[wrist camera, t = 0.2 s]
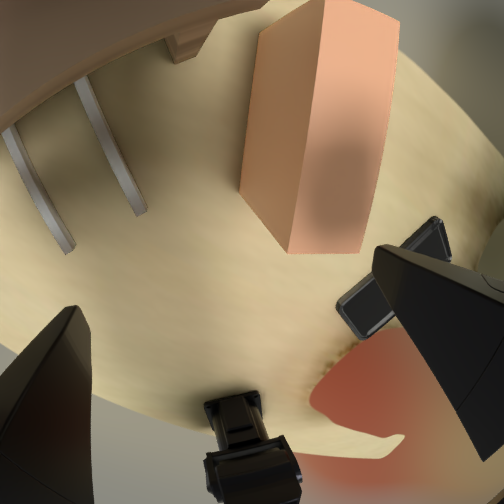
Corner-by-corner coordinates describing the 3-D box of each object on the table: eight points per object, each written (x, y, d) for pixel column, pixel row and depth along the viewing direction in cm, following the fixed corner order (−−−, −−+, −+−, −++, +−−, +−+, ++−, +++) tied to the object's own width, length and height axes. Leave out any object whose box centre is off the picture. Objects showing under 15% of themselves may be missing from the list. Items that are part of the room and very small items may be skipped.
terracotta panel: (289, 195, 24) (359, 253, 15) (238, 192, 23) (287, 254, 14) (311, 44, 19) (399, 21, 10) (259, 33, 18) (326, -9, 9)
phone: (453, 260, 32) (362, 343, 33) (447, 256, 33) (357, 337, 34) (440, 213, 28) (335, 308, 29) (433, 210, 29) (330, 301, 30)
